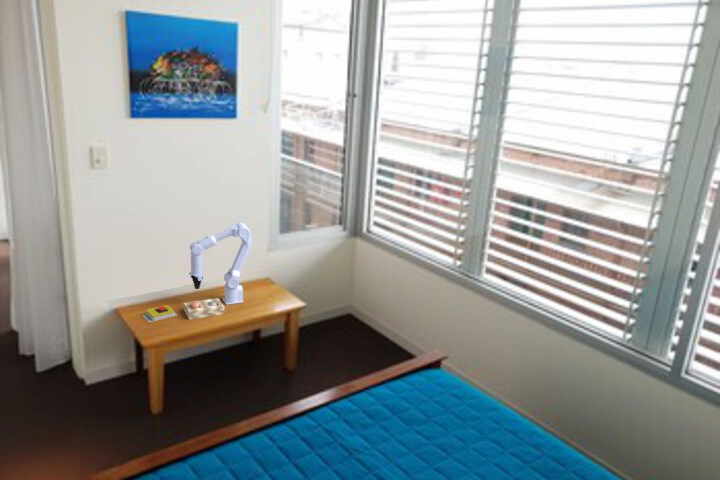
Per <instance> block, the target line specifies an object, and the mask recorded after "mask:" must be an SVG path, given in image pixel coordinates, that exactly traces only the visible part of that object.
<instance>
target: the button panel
mask: <svg viewBox="0 0 720 480" xmlns="http://www.w3.org/2000/svg"><path fill="white" fill-rule="evenodd" d="M195 301H197V302H199V308H195V309H191V303H192V302H195ZM211 301H215V302H217V305H215V306H209V302H211ZM183 311H184V312H185V314H186V316H187V318H188V320H195V319H201V318H202V319H203V318H207V317H208V318H209V317H214V316H221V315H225V313H226V312H225V305H224V304H223V303H222V301H221V300H220V298H218V297H215V298H208V299H203V300H201V299H200V300H194V301H186V302H183Z"/></svg>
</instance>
